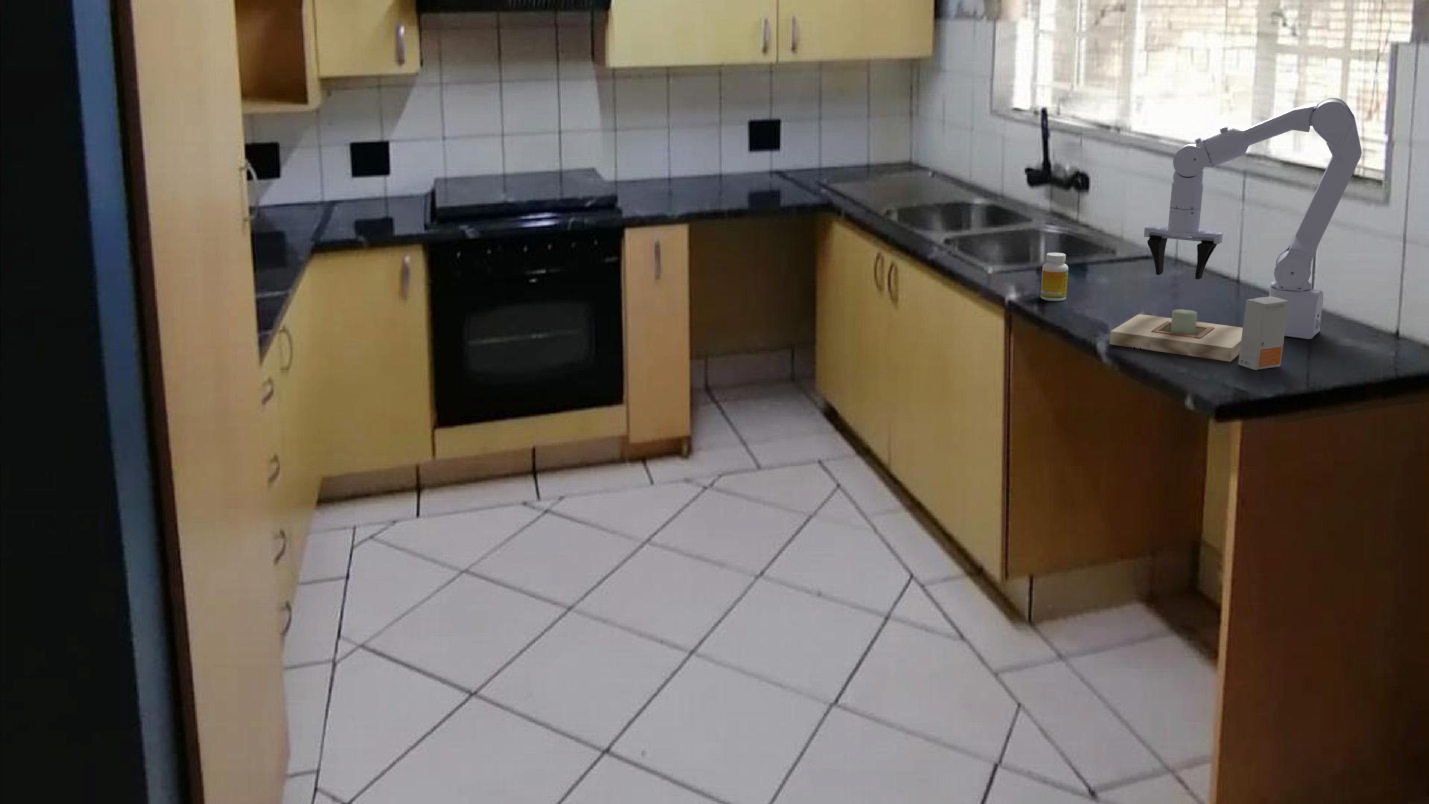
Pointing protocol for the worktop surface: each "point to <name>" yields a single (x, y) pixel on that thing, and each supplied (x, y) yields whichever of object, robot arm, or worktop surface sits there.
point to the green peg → (1183, 322)
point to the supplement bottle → (1054, 277)
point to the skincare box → (1263, 332)
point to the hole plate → (1179, 338)
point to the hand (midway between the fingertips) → (1178, 276)
